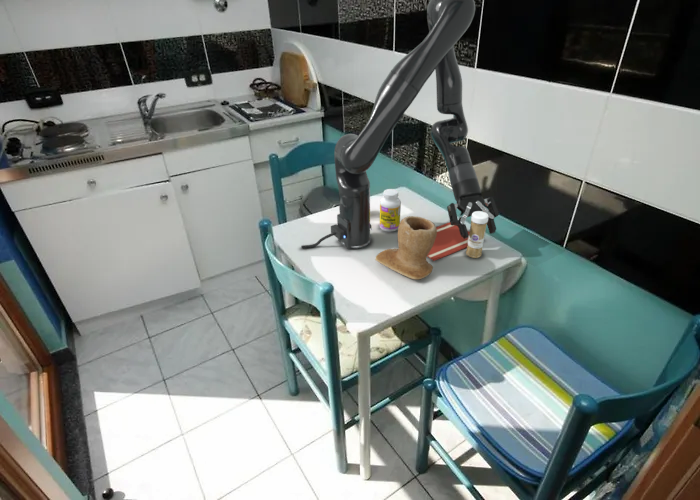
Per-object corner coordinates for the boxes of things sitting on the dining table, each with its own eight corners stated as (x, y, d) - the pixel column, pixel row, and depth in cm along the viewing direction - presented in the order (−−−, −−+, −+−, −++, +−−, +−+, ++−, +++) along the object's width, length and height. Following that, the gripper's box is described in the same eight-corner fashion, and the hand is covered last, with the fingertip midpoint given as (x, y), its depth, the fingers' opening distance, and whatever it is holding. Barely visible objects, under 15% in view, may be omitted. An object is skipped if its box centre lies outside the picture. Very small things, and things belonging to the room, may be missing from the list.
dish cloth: (433, 261, 121) (433, 259, 121) (403, 240, 131) (404, 238, 131) (482, 240, 129) (483, 239, 129) (451, 222, 140) (451, 221, 139)
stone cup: (441, 268, 118) (447, 222, 110) (415, 287, 111) (419, 239, 103) (400, 248, 127) (402, 204, 119) (373, 264, 120) (374, 219, 112)
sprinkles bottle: (465, 257, 122) (471, 217, 115) (465, 249, 126) (471, 209, 118) (482, 259, 121) (489, 218, 114) (481, 251, 125) (488, 211, 117)
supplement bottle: (376, 230, 136) (377, 194, 129) (383, 221, 142) (383, 186, 135) (396, 233, 134) (397, 197, 127) (402, 224, 139) (403, 189, 132)
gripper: (447, 180, 116) (463, 236, 113) (492, 174, 119) (508, 227, 116) (437, 190, 123) (451, 243, 120) (479, 183, 126) (494, 234, 123)
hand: (479, 235), depth 118 cm, fingers open, 8 cm apart
